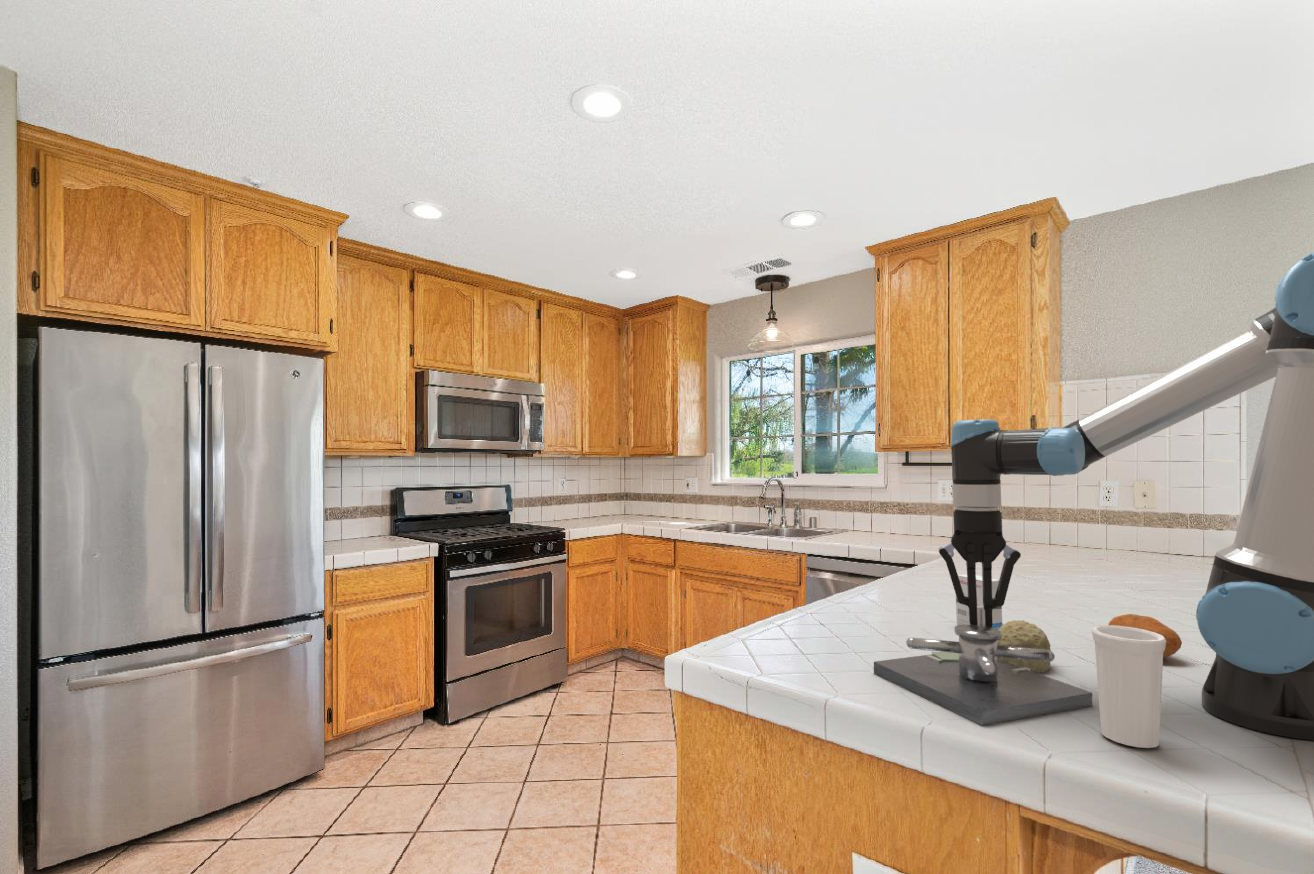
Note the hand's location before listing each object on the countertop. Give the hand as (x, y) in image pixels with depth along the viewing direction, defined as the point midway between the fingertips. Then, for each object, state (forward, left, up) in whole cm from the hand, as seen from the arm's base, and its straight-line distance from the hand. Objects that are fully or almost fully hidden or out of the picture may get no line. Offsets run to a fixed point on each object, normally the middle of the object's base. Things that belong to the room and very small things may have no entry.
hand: (981, 645), depth 110 cm
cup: (-25, +1, -6) cm, 26 cm away
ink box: (+23, -24, -6) cm, 33 cm away
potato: (-1, -40, -6) cm, 40 cm away
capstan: (-4, +5, -3) cm, 7 cm away
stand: (-4, +5, -5) cm, 9 cm away
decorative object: (+3, -13, -6) cm, 14 cm away
